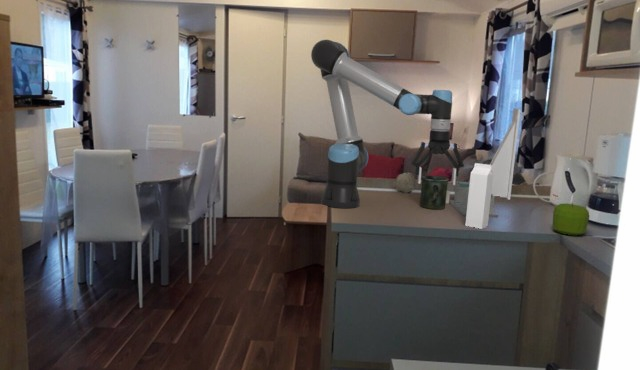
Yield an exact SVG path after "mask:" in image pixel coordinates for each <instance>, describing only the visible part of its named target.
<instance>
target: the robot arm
mask: <svg viewBox="0 0 640 370" xmlns="http://www.w3.org/2000/svg"><path fill="white" fill-rule="evenodd" d="M310 54H311V55H310V56H311V61H312V63H313V64H314V66H315V67H316V68H317V69H319V70H320V75H321V79H323V80H324V81H325V82H326V85H327V86H326V87H327V89H328V90H327V91H328V96H329V101H330V107H331V113H332V116H333V123H334V127H335V132H336V138H337V140H336V141H335V143H334V144H332V145H331V146H330V147H329V149H328V153H327V157H328V158H327V159H328V160H327V175H326V179H327V181H326V186H325V188H324V191H323V193H322V197H321V204H322V205H323V206H327V207H330V208H337V209H352V208H353V209H354V208H358V207H360V204H361V198H360V195H359V189H358V186H357V185H358V184H357V181H358V173H360V172H361V171H363V170H364V169H365V167H366V166H367V164H368V161H369V153H368V151H367V149H366V148H365V145H364V141H363V137H361V136H360V135H359V133H358V132H359V131H358V127H357V122H356V119H355V118H356V117H355V113H354V107H353V102H352V97H351V96H352V95H351V92H350V91H351V90H350V85H349V82H350V83H352V84H354V85H356V86H357V87H359V88H361V89H362V90H365V91H366V92H368V93H370V94H372V95H373V96H374V97H376V98H378V99H380V100H381V101H384V102H385V103H387V104H389V105H390V106H393V107H394V108H396V109H397V110H399V111H400V112H401V113H402V114H404V115H406V116H413V115H416V114H417V115H430V116H431V117H430V128H429V129H431V130H430V131H429V141H428V142H425V141H421V142H420V147H419V149H418V150H417V153H415V155H414V157H413V159H412V161H411V163H410V164H411V165H412V166H414V167H415V172H414V173H415V175H416V176H417V182H416V183H417V184H418V185H420V184H421V185H422V178H421V177H422V167H421V166H422V165H423V163H425V162H426V160H427V159H428V158H429V157H430V156H432V155H433V154H434V155H445V156H446V158H448V160H449V161H450V163H451V164H452V165H453V166H454V167H452V173H451V185H453V186H455V184H456V179H457V177H459V170H460V168H464V167H465V165H464V161H463V159H462V157H461V155H460V153H459V150H458V144H457V143H456V142H452V143H450V134H451V132H450V129H451V120H452V111H453V92H452V91H451V90H449V89H447V90H446V89H433V91H432V93H431V94H420V93H419V94H418V93H416V94H415V93H413V92H411V91H409V90H408V89H405V88H403V87H402V86H400V85H399V84H397V83H395V82H394V81H391V80H389V79H388V78H386V77H384V76H382V75H381V74H379V73H377V72H376V71H374V70H372V69H370V68H368V67H366V66H365V65H363V64H361V63H360V62H357V61H356V60H354V59H352V58H351V57H350V52H349V50H348V49H347V47H345V46H344V45H343V44H342V43H340V42H338V41H333V40H330V39H321V40H319V41H318V42H316V43H315V44H314V45H313V47H312V49H311V53H310ZM427 147H428V148H429V150H427V151H426V152H425V154H424V155H423V156H422V154H423V151H424V150H425V149H427ZM449 148H451V149H452V151H453V153H454V155H455V158H456V160H455V159H454V157H453V156H452V155H451V153H450V152H449V150H448V149H449ZM421 156H422V157H421ZM420 157H421V158H420ZM456 161H457V162H456Z"/></svg>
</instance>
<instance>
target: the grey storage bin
mask: <svg viewBox="0 0 640 370" xmlns="http://www.w3.org/2000/svg"><path fill="white" fill-rule="evenodd" d="M469 185H470V182H460V181H459V182H457V183H455V185H454V193H453V199H449V203H448V204H449V205H451V206H452V207H453V208H454V209H456V210H457V211H458V212H459V213H461V215H462V216H465V217H466V213H467V204H468V194H469ZM495 198H496V197H495V196H494V195H493V194H491V201H490V210H489V218H498V217H499V214H498V213H496V212H495V211H494V210H495V209H494V208H495Z"/></svg>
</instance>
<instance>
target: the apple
mask: <svg viewBox="0 0 640 370" xmlns="http://www.w3.org/2000/svg"><path fill="white" fill-rule="evenodd" d="M589 220H590V211H589V210H588V209H587V208H586V207H585V206H583V205H577V204H573V203H560V204H557V205H556V206H554V209H553V215H552V225H551V226H552V227H551V228H552V229H554V230H555V231H556V232H558V233H559V234H561V233H562V235H566V234H568V236H579V235H582V234H586V232H587V228H588V223H589Z"/></svg>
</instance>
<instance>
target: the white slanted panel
mask: <svg viewBox="0 0 640 370" xmlns="http://www.w3.org/2000/svg"><path fill="white" fill-rule="evenodd" d="M521 111H522V110H521V109H520V108H513V109H512V116H511V123H510V125H509V128H508V129H507V131H506V133H505V135H504V137H503V138H502V140H501V142H500V144H499V146H498V147H497V150H496V152H495V154H494V155H493V157H492V159H491V161H490V163H489V165H491V166H492V167H491V170H492V172H493V183H492V192H491V194H493V195H494V196H500V197H499V198H506V199H507V201H508V200H511V196H512V195H511V194H512V187H513V179H514V171H515V170H514V169H515V161H516V153H517V144H518V136H519V127H520V121H521V120H520V119H521Z"/></svg>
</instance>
